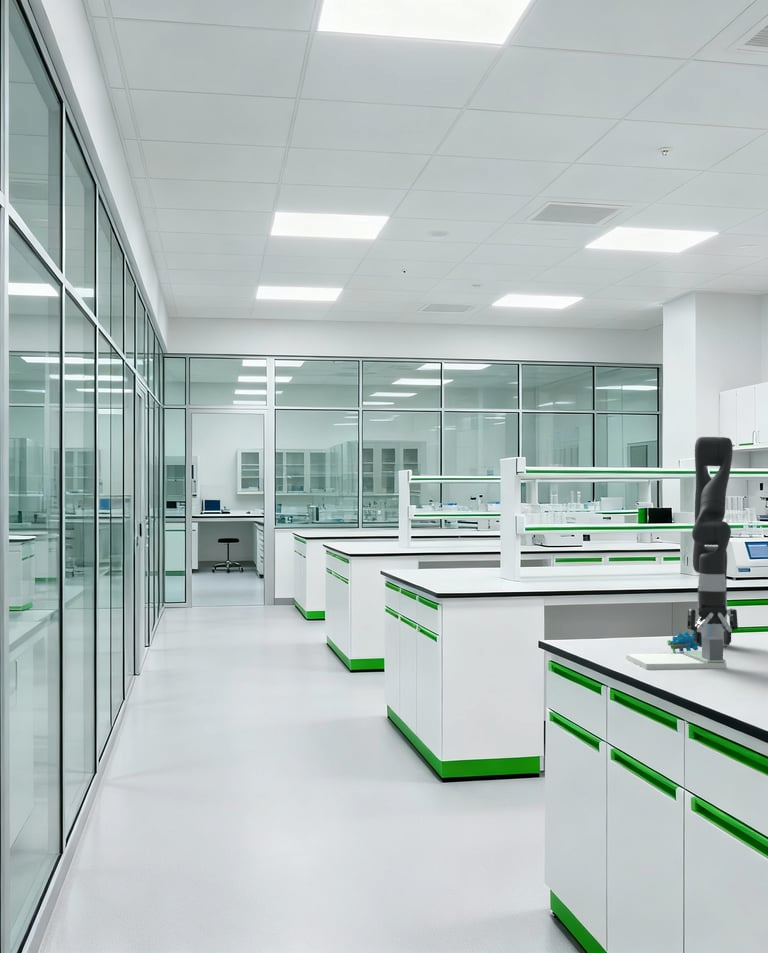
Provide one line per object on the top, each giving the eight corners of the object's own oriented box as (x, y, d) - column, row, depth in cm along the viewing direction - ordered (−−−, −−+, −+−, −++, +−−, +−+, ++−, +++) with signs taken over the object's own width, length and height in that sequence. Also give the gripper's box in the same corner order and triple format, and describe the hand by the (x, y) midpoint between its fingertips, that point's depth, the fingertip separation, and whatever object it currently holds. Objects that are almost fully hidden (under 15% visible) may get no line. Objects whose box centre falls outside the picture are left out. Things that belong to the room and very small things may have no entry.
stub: (683, 652, 266) (683, 631, 266) (700, 652, 266) (700, 631, 266) (707, 662, 250) (707, 639, 250) (725, 662, 250) (725, 639, 250)
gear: (704, 647, 277) (702, 628, 271) (707, 662, 273) (705, 643, 266) (668, 649, 280) (665, 631, 274) (671, 665, 276) (668, 646, 270)
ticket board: (626, 659, 264) (626, 653, 264) (701, 658, 266) (701, 653, 266) (646, 669, 248) (646, 663, 248) (726, 668, 250) (726, 662, 250)
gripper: (729, 588, 257) (729, 642, 257) (683, 588, 256) (683, 643, 255) (741, 590, 250) (742, 646, 249) (694, 590, 249) (694, 646, 248)
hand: (712, 644), depth 252 cm, fingers open, 8 cm apart
